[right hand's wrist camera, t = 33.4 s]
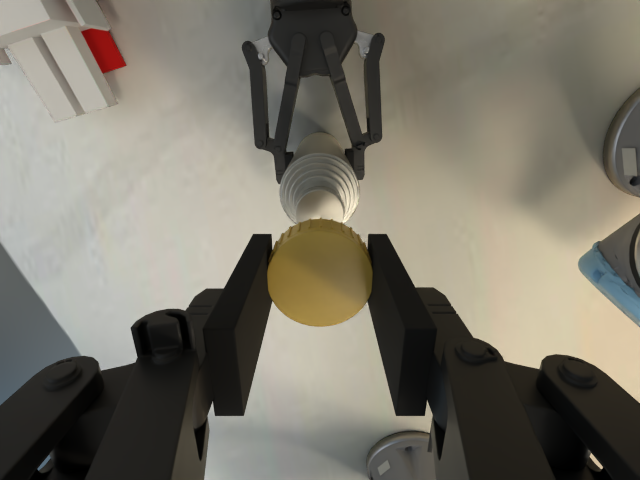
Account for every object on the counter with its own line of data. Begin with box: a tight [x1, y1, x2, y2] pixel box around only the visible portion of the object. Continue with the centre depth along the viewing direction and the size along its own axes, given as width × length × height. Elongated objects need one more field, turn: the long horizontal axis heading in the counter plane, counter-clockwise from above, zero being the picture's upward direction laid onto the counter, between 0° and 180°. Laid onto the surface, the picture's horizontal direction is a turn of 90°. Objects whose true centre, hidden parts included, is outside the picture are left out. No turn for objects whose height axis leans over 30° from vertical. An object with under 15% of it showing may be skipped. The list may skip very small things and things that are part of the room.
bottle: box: [280, 132, 360, 224], centre depth 31 cm, size 6×6×25 cm
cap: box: [267, 218, 373, 327], centre depth 14 cm, size 4×4×2 cm
